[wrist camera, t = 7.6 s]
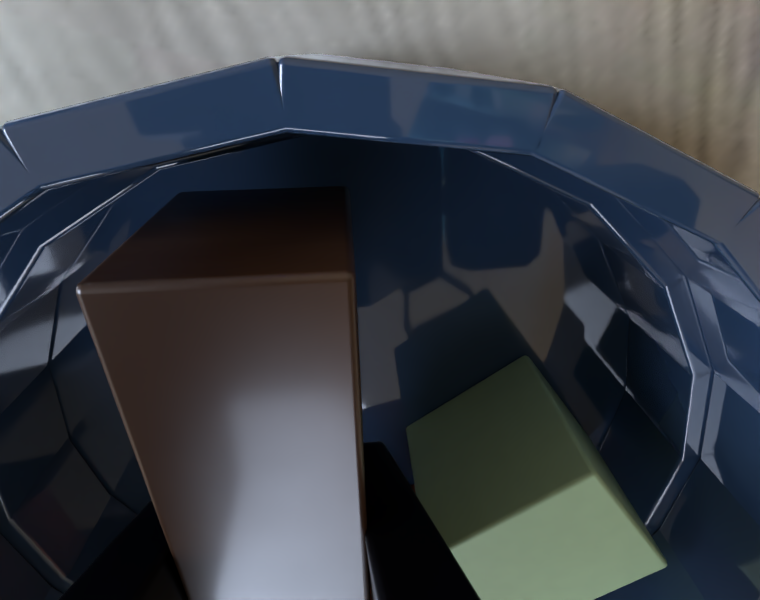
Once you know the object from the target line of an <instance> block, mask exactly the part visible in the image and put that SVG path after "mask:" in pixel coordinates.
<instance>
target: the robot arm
mask: <svg viewBox="0 0 760 600" xmlns="http://www.w3.org/2000/svg"><path fill="white" fill-rule="evenodd" d="M363 446H364V468H365V490H366V512H367V530H366V533H365V543H366V551H367V559H368V567H369V578H370V590H371V596H372V600H481V599H480V597H479V596H478V594H477V593H476V591H475V589H474V588H473V586H472V584H471V583H470V581H469V580H468V578H467V576H466V575H465V573H464V572H463V570H462V568H461V567H460V565H459V563H458V562H457V560H456V559H455V557H454V555H453V554H452V552H451V551H450V549H449V547H448V546H447V544H446V542H445V541H444V539H443V538H442V536H441V534H440V533H439V531H438V530H437V528H436V526H435V525H434V523H433V521H432V520H431V518H430V517H429V515H428V513H427V512H426V510H425V509H424V507H423V505H422V504H421V502H420V501H419V499H418V497H417V496H416V494H415V492H414V491H413V489H412V488H411V486H410V484H409V483H408V481H407V480H406V478H405V476H404V475H403V473H402V471H401V470H400V468H399V467H398V465H397V463H396V462H395V460H394V459H393V457H392V455H391V454H390V452H389V450H388V449H387V447H386V446H385V444H384V443H383V442H381V441H375V442H365V443H363ZM58 600H188V598H187V595H186V592H185V590H184V587H183V584H182V581H181V579H180V576H179V573H178V571H177V568H176V565H175V562H174V560H173V557H172V554H171V552H170V549H169V546H168V543H167V541H166V538H165V535H164V532H163V530H162V527H161V524H160V522H159V519H158V516H157V513H156V511H155V508H154V505H153V503H152V500H151V501H150V502H149V503H148V504H147V505H146V506H145V507H144V508H143V509H142V510H141V512H140V513H139V514H138V515H137V516H136V517H135V518H134V519H133V520H132V521H131V522H130V523H129V524H128V525H127V526H126V528H125V529H124V530H123V531H122V532H121V533H120V534H119V535H118V536H117V537H116V538H115V539H114V540H113V541H112V542H111V544H110V545H109V546H108V547H107V548H106V549H105V550H104V551H103V552H102V553H101V554H100V555H99V556H98V557H97V558H96V560H95V561H94V562H93V563H92V564H91V565H90V566H89V567H88V568H87V569H86V570H85V571H84V572H83V573H82V574H81V576H80V577H79V578H78V579H77V580H76V581H75V582H74V583H73V584H72V585H71V586H70V587H69V588H68V589H67V590H66V592H65V593H64V594H63V595H62V596H61V597H60V598H59V599H58Z"/></svg>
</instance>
